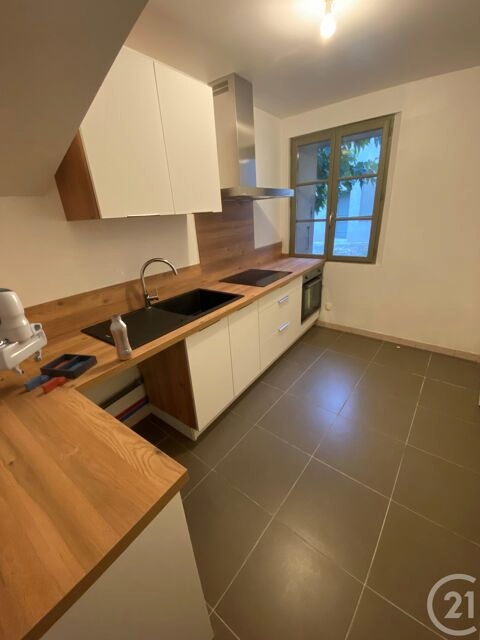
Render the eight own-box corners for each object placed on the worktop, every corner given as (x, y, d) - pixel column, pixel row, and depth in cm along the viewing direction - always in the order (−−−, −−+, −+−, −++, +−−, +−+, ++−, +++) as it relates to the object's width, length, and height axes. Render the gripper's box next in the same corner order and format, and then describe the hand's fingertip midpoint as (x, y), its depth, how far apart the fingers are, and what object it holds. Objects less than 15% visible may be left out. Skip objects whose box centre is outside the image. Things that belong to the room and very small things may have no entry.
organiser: (42, 375, 105) (39, 368, 104) (67, 360, 116) (64, 353, 115) (75, 379, 102) (72, 371, 100) (97, 362, 113) (95, 355, 111)
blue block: (32, 391, 95) (29, 384, 94) (24, 390, 96) (21, 383, 95) (51, 378, 103) (49, 372, 102) (44, 377, 104) (41, 371, 102)
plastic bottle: (122, 363, 111) (111, 319, 104) (115, 358, 115) (104, 316, 108) (136, 357, 115) (126, 315, 108) (129, 353, 120) (119, 312, 112)
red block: (50, 393, 93) (47, 386, 92) (41, 392, 94) (38, 385, 93) (68, 380, 101) (66, 373, 100) (60, 379, 102) (58, 373, 101)
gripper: (1, 346, 81) (17, 383, 86) (44, 322, 100) (55, 353, 105) (-20, 348, 81) (-2, 385, 86) (27, 323, 100) (39, 354, 105)
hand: (30, 367), depth 96 cm, fingers open, 8 cm apart
